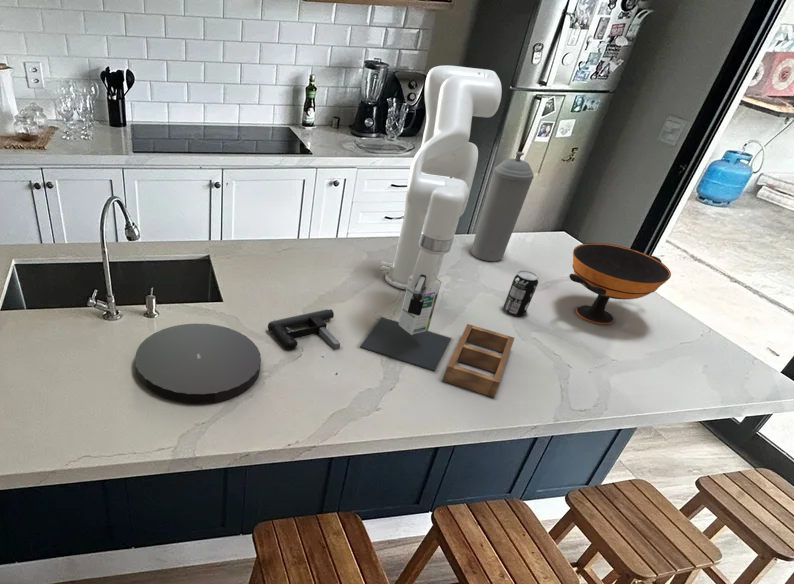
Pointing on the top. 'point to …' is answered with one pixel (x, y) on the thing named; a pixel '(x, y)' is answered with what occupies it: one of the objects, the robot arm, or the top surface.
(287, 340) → the door handle
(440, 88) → the robot arm
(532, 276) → the beverage can
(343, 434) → the top surface
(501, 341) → the rack
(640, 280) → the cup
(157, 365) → the disc
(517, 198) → the canister
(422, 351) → the mat
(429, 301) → the syrup box
